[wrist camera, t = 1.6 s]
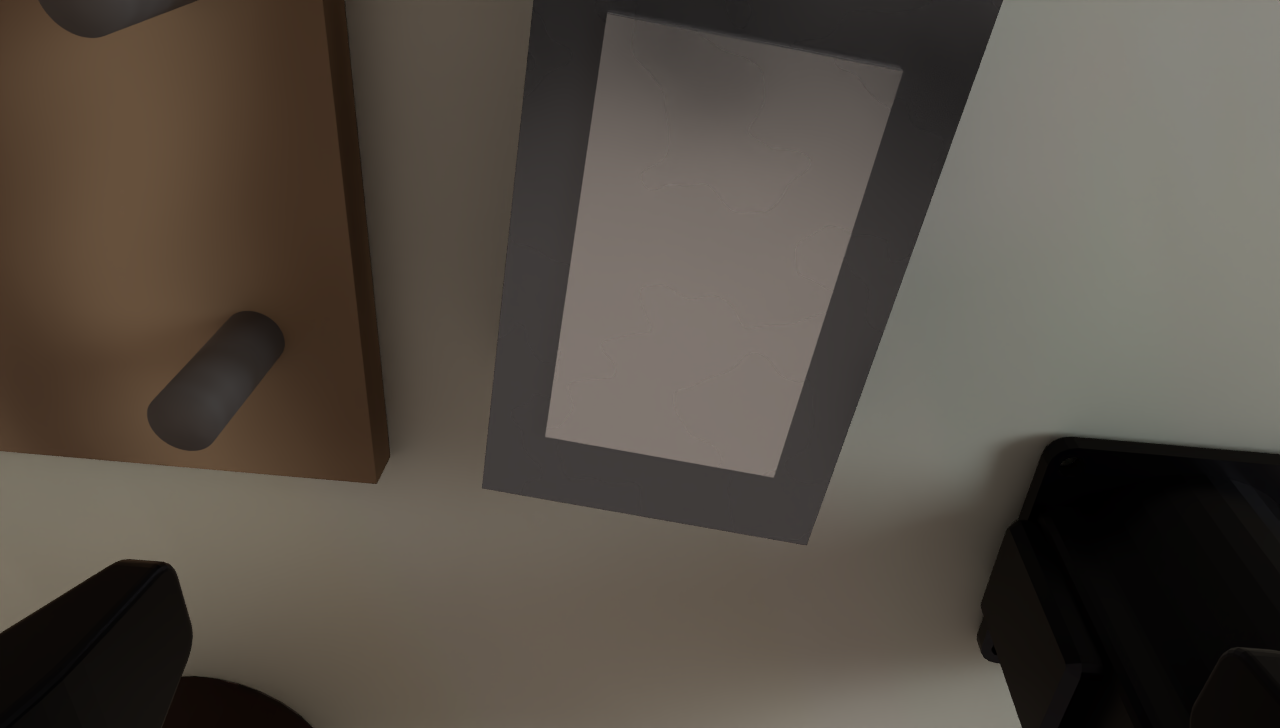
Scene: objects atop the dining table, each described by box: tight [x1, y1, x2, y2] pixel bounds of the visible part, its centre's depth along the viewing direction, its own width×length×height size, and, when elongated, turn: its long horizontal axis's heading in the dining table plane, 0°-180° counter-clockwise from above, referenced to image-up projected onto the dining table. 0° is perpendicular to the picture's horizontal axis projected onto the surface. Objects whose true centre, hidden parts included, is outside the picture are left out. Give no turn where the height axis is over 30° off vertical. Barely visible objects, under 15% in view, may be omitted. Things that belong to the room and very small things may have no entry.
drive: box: [482, 0, 1003, 545], centre depth 16 cm, size 6×10×4 cm, turn 170°
